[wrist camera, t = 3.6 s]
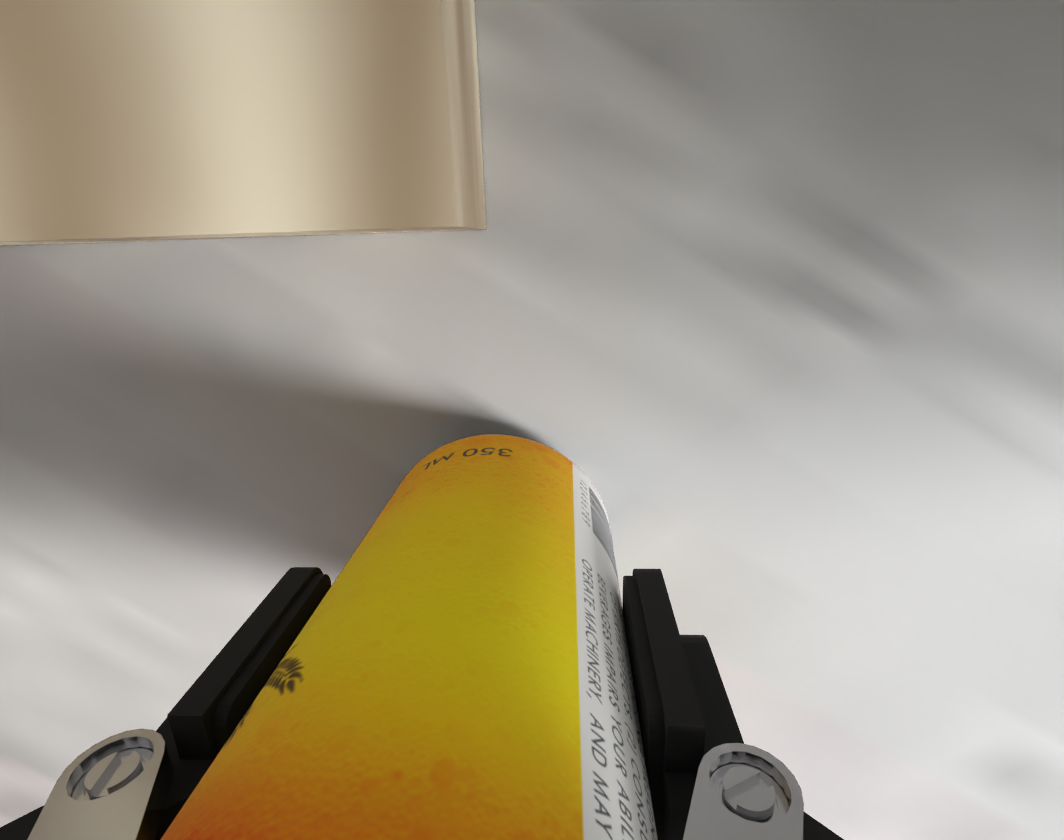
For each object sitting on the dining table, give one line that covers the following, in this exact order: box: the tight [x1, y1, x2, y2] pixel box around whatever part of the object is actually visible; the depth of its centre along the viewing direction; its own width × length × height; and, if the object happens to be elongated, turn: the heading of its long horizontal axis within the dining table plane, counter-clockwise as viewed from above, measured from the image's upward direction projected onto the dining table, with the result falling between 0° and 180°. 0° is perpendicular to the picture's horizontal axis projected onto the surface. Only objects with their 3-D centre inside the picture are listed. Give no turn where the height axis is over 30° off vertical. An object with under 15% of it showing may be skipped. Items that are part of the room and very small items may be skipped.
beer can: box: [161, 434, 658, 840], centre depth 9 cm, size 6×6×15 cm
